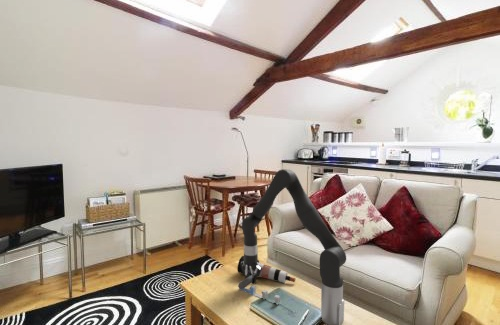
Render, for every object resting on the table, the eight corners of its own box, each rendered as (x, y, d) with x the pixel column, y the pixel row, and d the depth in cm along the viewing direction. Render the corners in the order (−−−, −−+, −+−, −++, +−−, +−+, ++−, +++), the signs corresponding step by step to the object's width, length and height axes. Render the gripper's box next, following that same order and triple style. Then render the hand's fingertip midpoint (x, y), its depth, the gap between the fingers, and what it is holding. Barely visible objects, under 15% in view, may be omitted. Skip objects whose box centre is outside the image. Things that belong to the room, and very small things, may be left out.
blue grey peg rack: (280, 303, 135) (280, 296, 134) (277, 305, 133) (277, 298, 132) (241, 287, 149) (241, 280, 149) (239, 289, 148) (239, 282, 147)
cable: (292, 293, 151) (292, 282, 146) (238, 276, 164) (236, 265, 159) (297, 278, 159) (297, 267, 154) (245, 262, 171) (243, 252, 166)
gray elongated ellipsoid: (252, 278, 152) (252, 272, 152) (257, 280, 150) (257, 274, 150) (236, 289, 141) (236, 282, 141) (242, 291, 139) (242, 284, 139)
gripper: (265, 253, 145) (265, 283, 147) (244, 246, 154) (245, 275, 155) (257, 258, 139) (257, 290, 141) (236, 251, 148) (236, 281, 149)
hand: (250, 282), depth 148 cm, fingers closed on gray elongated ellipsoid, 3 cm apart
